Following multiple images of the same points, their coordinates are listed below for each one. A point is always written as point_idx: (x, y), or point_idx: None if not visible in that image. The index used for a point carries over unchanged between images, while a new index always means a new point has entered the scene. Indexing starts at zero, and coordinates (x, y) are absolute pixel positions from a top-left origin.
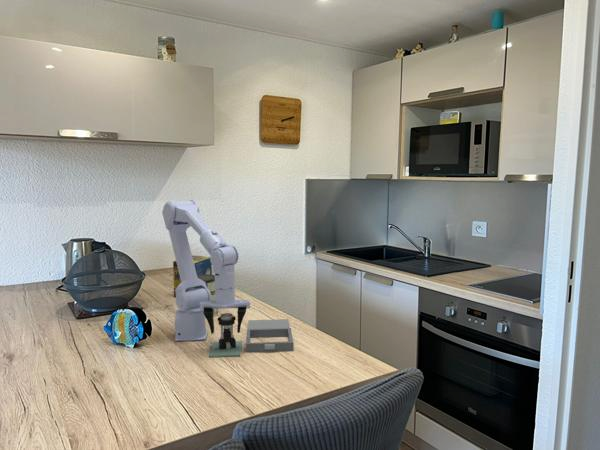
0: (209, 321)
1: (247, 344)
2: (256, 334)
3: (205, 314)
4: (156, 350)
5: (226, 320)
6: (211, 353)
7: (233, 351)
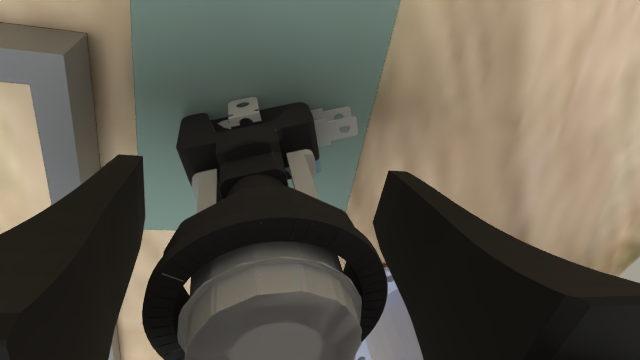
0: (493, 235)
1: (46, 50)
2: None
3: (634, 287)
4: (635, 170)
5: (278, 240)
6: (375, 35)
7: (198, 39)
